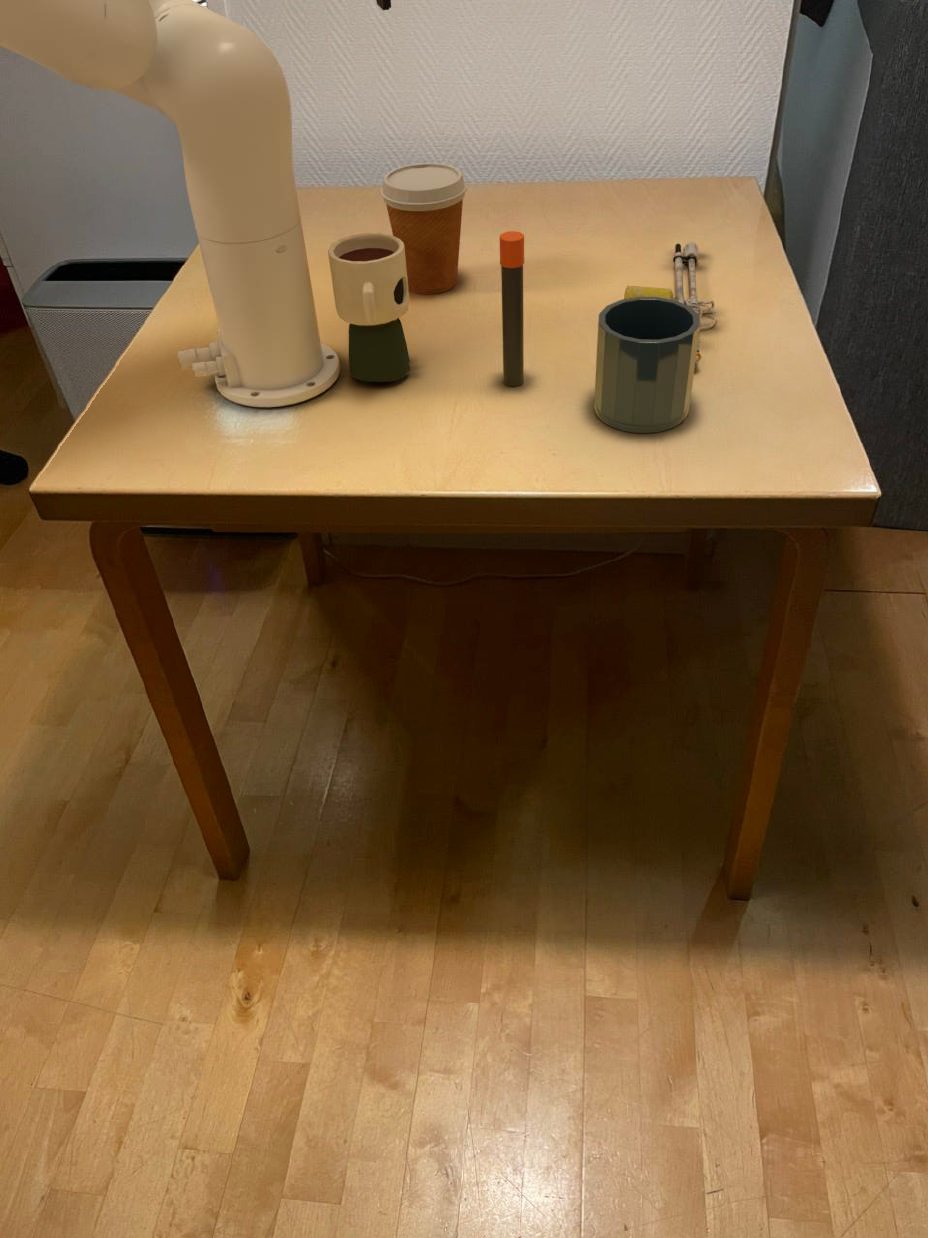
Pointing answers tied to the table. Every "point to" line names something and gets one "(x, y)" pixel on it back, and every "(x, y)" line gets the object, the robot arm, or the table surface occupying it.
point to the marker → (512, 306)
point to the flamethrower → (678, 285)
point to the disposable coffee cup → (427, 222)
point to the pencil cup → (645, 363)
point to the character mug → (372, 303)
